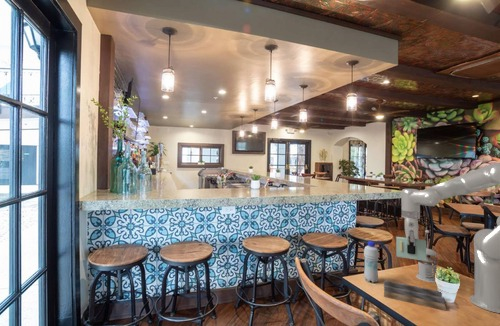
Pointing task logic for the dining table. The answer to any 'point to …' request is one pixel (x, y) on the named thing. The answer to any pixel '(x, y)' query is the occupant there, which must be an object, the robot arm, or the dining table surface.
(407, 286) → the bottom track
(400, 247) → the door panel
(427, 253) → the french press
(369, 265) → the bottle
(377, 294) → the dining table surface
